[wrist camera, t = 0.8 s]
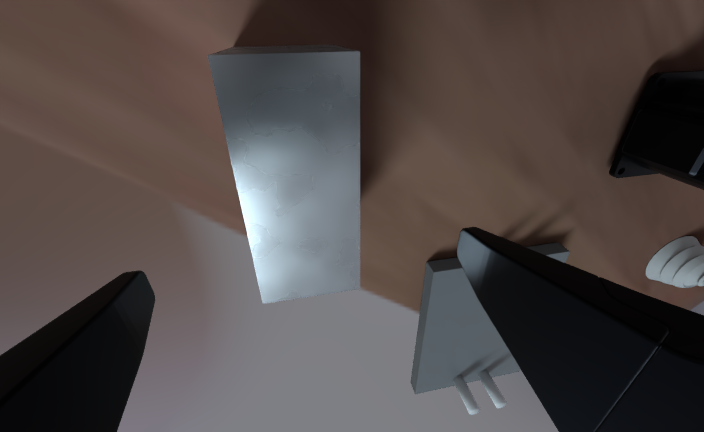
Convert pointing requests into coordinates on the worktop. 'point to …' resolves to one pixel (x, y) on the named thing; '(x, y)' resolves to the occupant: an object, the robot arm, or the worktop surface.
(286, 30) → the worktop surface
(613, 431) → the robot arm
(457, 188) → the worktop surface
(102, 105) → the worktop surface
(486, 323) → the grey peg plate
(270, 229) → the block
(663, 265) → the chalice
